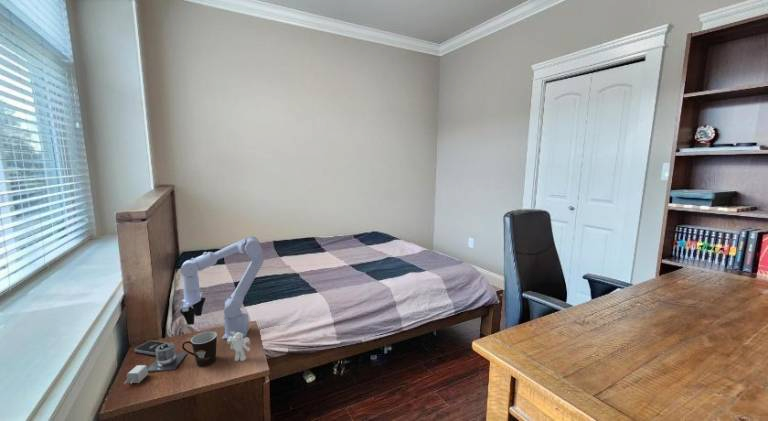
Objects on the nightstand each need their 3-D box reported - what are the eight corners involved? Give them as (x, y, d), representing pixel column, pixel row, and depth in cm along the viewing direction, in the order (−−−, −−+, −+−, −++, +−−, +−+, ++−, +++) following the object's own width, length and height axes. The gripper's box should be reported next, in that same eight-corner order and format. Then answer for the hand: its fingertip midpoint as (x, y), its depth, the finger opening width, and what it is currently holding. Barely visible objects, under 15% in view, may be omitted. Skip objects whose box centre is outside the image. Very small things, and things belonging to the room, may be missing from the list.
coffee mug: (224, 357, 126) (222, 333, 124) (205, 370, 118) (203, 345, 116) (201, 351, 129) (199, 328, 128) (182, 364, 121) (179, 340, 120)
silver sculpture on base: (187, 353, 128) (186, 340, 127) (175, 369, 118) (173, 355, 117) (160, 356, 127) (158, 343, 126) (145, 372, 117) (143, 358, 116)
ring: (177, 351, 125) (176, 342, 125) (170, 360, 120) (169, 350, 119) (161, 353, 124) (160, 343, 124) (154, 361, 119) (152, 351, 118)
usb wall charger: (148, 375, 115) (147, 365, 115) (133, 388, 109) (132, 378, 108) (137, 375, 115) (135, 365, 115) (121, 389, 108) (120, 378, 108)
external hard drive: (150, 344, 136) (150, 340, 135) (171, 348, 133) (171, 343, 132) (134, 354, 129) (133, 349, 129) (156, 357, 126) (155, 353, 126)
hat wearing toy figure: (226, 361, 123) (224, 332, 121) (232, 355, 127) (230, 326, 125) (248, 363, 122) (246, 333, 120) (253, 357, 126) (251, 328, 124)
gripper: (189, 283, 140) (192, 312, 142) (172, 296, 126) (176, 329, 128) (206, 282, 141) (209, 311, 143) (191, 295, 127) (195, 327, 129)
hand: (194, 319), depth 135 cm, fingers open, 7 cm apart
